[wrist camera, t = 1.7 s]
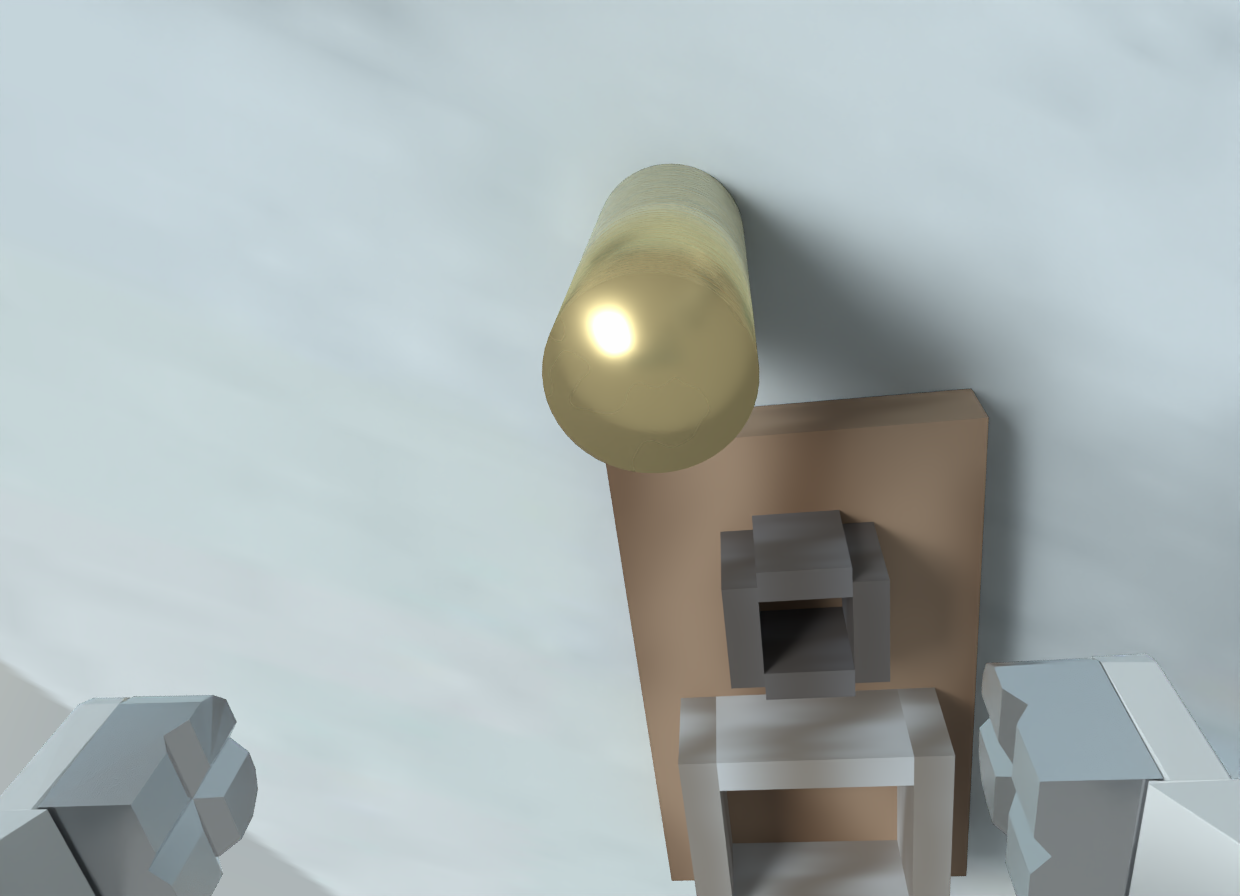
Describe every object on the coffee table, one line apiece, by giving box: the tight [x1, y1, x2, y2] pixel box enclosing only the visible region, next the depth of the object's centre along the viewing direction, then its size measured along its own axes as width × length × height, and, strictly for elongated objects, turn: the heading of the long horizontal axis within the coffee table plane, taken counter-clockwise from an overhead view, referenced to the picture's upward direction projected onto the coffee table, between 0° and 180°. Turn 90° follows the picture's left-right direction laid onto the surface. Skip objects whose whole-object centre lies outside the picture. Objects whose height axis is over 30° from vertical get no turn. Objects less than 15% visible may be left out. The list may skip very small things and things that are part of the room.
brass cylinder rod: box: [542, 164, 759, 473], centre depth 23 cm, size 4×4×10 cm
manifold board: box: [606, 389, 989, 896], centre depth 31 cm, size 11×19×5 cm, turn 7°
